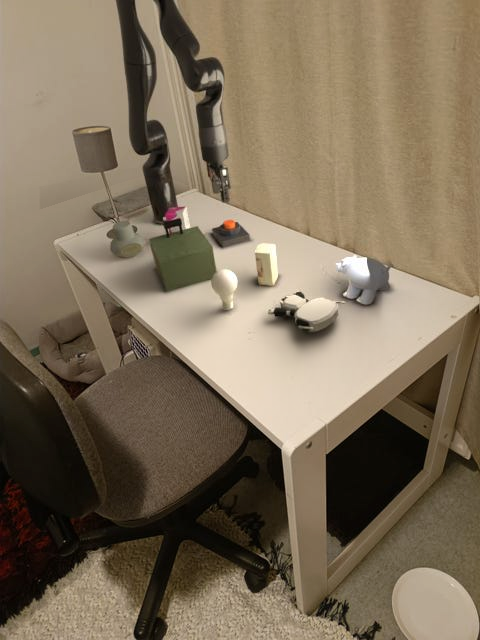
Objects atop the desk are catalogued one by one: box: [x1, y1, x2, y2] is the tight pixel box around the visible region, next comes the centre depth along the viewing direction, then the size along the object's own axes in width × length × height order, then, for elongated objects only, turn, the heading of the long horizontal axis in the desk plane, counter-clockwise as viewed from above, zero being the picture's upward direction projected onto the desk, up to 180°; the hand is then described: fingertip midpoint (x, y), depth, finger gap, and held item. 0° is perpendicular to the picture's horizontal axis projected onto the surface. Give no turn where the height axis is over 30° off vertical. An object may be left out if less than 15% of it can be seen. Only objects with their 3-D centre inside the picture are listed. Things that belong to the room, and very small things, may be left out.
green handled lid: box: [148, 218, 214, 263], centre depth 121 cm, size 15×15×5 cm
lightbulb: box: [210, 268, 238, 311], centre depth 108 cm, size 6×6×11 cm
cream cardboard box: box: [254, 242, 279, 287], centre depth 116 cm, size 5×4×10 cm
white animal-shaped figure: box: [334, 254, 394, 306], centre depth 108 cm, size 11×15×10 cm
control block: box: [211, 221, 251, 249], centre depth 141 cm, size 11×9×4 cm
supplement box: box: [165, 206, 191, 233], centre depth 140 cm, size 6×6×12 cm
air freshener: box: [109, 220, 146, 258], centre depth 139 cm, size 11×8×10 cm
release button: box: [222, 219, 236, 229], centre depth 140 cm, size 4×4×2 cm
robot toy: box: [267, 290, 346, 333], centre depth 103 cm, size 12×4×15 cm
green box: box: [149, 243, 218, 292], centre depth 125 cm, size 14×15×9 cm
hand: (221, 197), depth 132 cm, fingers open, 8 cm apart
